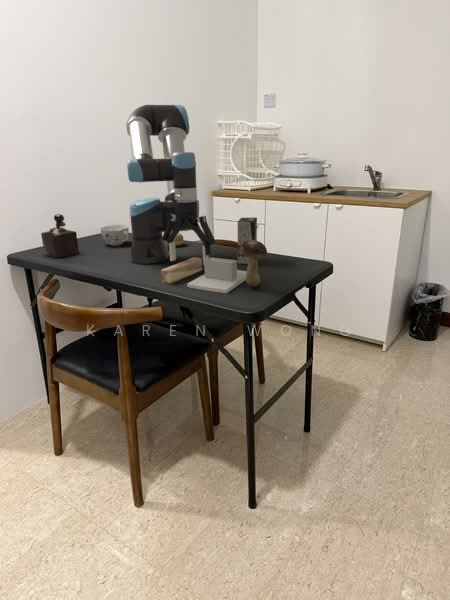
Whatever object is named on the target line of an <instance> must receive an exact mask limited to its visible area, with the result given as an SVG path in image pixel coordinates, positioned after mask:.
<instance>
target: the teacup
mask: <svg viewBox="0 0 450 600" xmlns="http://www.w3.org/2000/svg"><path fill="white" fill-rule="evenodd" d="M99 230H100V234H101V236H102V239H104V241H105V242H106V243H108V244H109V246H111V247H117V246H118V247H119V246H121V245H123V244H124V243H125V242H126V241H128V240H129V237H130V236H129V231H130V230H129V225H127V224H110V225H105V226H102V227H101V228H99Z"/></svg>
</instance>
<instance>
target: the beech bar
mask: <svg viewBox="0 0 450 600" xmlns="http://www.w3.org/2000/svg"><path fill="white" fill-rule="evenodd" d="M202 270H203V258H201V257H191V258H189V259H186V260H184V261H181V262H179V263H178V262H177V263H176V264H173V265H171V266H168V267H166V268H163V269H161V270H160V272H161V273H160V274H161V283H165V284H168V285H169V284H173V283H175V282H177V281H180V280H182V279H184V278H187V277H188V276H191V275H194V274H196V273H199V272H201V271H202Z"/></svg>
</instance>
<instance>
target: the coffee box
mask: <svg viewBox="0 0 450 600" xmlns="http://www.w3.org/2000/svg"><path fill="white" fill-rule="evenodd" d="M257 222H258V218H257V217H241V218H239V219H238V221H237V264H243V265H248V257H247V256H245V255H243V254H242V253H241V251H240V246H241V244H243V243H244V242H246V241H249V240H256V241H258V240H257V239H258V223H257Z"/></svg>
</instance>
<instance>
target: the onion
mask: <svg viewBox="0 0 450 600" xmlns="http://www.w3.org/2000/svg"><path fill="white" fill-rule="evenodd" d="M171 233H172V232H171ZM171 233H170V234H171ZM172 242H175V247H180V246H182V244H184V235H183V234H182V233H181V232H179V233H178V234H177V236H176V237H175V238H174V241H172ZM165 244H167V242H166V241H165Z"/></svg>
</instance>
